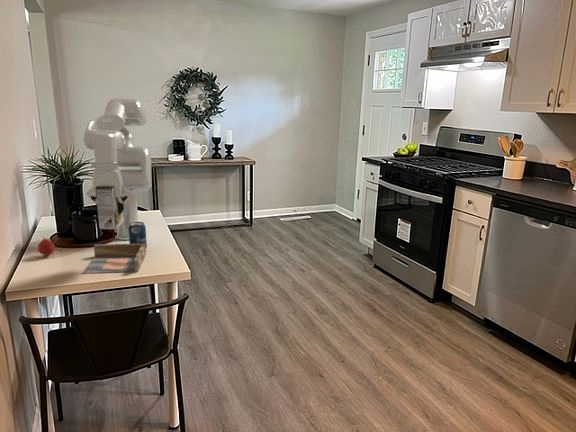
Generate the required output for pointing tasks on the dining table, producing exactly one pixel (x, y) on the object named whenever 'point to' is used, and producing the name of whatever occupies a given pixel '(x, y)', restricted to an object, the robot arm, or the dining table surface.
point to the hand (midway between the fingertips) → (110, 212)
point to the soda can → (137, 233)
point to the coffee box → (108, 208)
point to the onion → (46, 247)
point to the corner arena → (116, 258)
